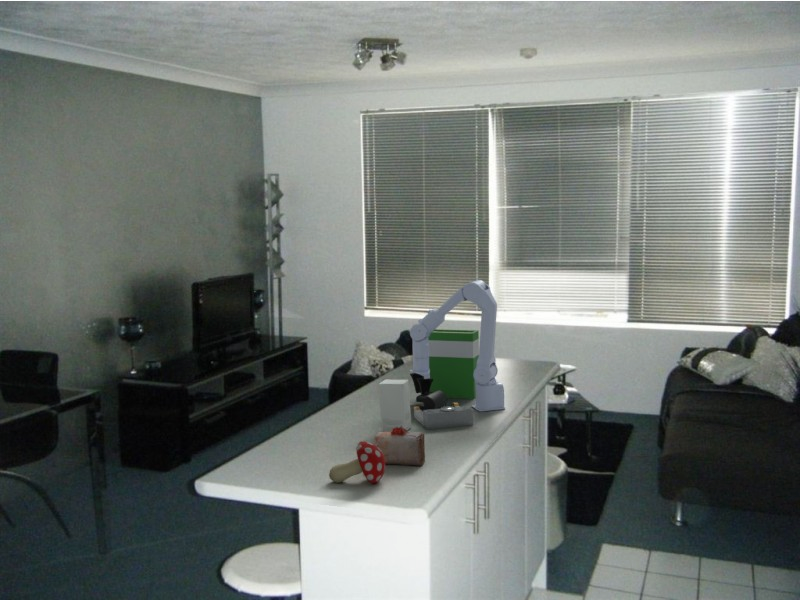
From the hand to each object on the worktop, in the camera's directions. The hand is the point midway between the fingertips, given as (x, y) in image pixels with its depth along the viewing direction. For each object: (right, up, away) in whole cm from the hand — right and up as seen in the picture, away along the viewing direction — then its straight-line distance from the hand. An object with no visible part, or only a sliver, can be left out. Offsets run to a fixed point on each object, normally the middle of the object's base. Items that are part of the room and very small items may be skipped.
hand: (422, 395), depth 284 cm
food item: (-8, -11, -64) cm, 66 cm away
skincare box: (-9, -7, -31) cm, 34 cm away
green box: (+12, -2, +13) cm, 18 cm away
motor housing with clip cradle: (+6, -6, -23) cm, 24 cm away
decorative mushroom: (-18, -13, -79) cm, 82 cm away
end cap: (+3, -5, -11) cm, 12 cm away
